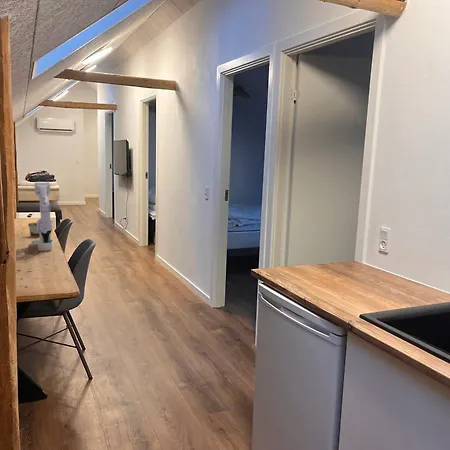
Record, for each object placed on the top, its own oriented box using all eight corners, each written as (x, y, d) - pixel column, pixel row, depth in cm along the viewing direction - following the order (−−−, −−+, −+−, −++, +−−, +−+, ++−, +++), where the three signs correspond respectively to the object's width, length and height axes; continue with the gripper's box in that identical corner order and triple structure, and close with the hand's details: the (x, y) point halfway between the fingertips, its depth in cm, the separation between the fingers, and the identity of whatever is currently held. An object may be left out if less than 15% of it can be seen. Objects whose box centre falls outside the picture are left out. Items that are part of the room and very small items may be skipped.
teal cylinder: (50, 243, 304) (50, 233, 303) (50, 244, 299) (49, 234, 298) (43, 243, 303) (42, 233, 302) (42, 245, 298) (41, 234, 297)
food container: (47, 235, 349) (47, 222, 347) (43, 236, 343) (43, 224, 341) (32, 234, 350) (32, 222, 348) (28, 236, 344) (28, 223, 342)
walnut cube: (29, 251, 292) (29, 244, 292) (38, 251, 294) (37, 244, 293) (28, 253, 288) (28, 246, 287) (36, 253, 289) (36, 245, 288)
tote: (32, 247, 305) (32, 240, 304) (54, 246, 308) (54, 239, 307) (29, 251, 294) (29, 243, 293) (52, 250, 297) (51, 243, 296)
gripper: (41, 220, 305) (42, 240, 307) (37, 223, 291) (38, 244, 293) (52, 220, 306) (53, 239, 308) (49, 223, 292) (50, 243, 295)
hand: (46, 241), depth 301 cm, fingers closed on teal cylinder, 5 cm apart
